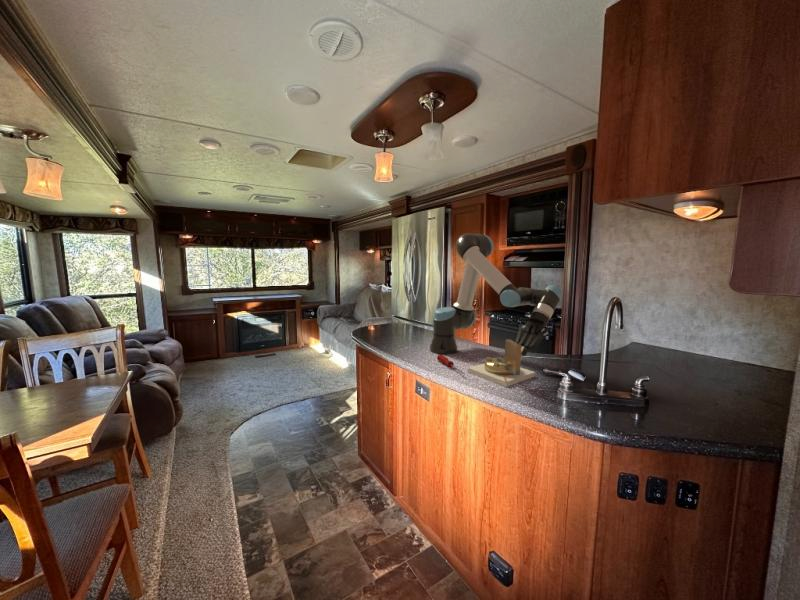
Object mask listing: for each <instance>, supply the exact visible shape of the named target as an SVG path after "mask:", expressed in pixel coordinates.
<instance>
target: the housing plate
mask: <svg viewBox="0 0 800 600" xmlns="http://www.w3.org/2000/svg"><path fill="white" fill-rule="evenodd" d="M467 373H469V374H472V375H473V376H477V377H480V378H482V379H483V380H486V381H489V380H490V382H493V383H495V384H498V385H500V386H503V387H505V388H506V387H509V386H512V385H515V384H518V383H520V382H524V381H526V380H530V379H532V378H535V377H536V371H533V370H529V369H528V368H527V369H526V368H523V367H521V366H520V375H514V374H513V375H499V374H494V373H491V372H488V371H487V370H485V362H484V363H481V364H477V365H473V366H470V367H468V368H467Z"/></svg>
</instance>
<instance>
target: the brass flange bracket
mask: <svg viewBox="0 0 800 600" xmlns="http://www.w3.org/2000/svg"><path fill="white" fill-rule="evenodd" d="M504 343H505V344H504V357H502V356H496V357H490V356H487V357H485V360H484V363H485V370H487V371H488V372H491V373H494V374H499V375H513V374H514V375H520V367H521V362H522V360H521V345H519V344H517V343H516V342H515V341H514V340H512V339H505V342H504Z"/></svg>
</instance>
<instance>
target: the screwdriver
mask: <svg viewBox="0 0 800 600" xmlns="http://www.w3.org/2000/svg"><path fill="white" fill-rule="evenodd" d="M436 359H437V360H438V362H440V363H441V364H443V365H446V366H447V368H449V369H451V368H454V369H455V370H457V371H458V372H460V373H461V374H463V375H465V372H463V371H462V370H460V369H458V368H457V367H456V366H454V365H455V364H454V362H453V361H452V360H449V358H448V357H446V356H445V355H444V354H439V353H438V355H437V356H436Z"/></svg>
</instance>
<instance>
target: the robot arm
mask: <svg viewBox="0 0 800 600" xmlns="http://www.w3.org/2000/svg"><path fill="white" fill-rule="evenodd" d="M455 250H456V252H457V254H458V255H459V257H460V258H461V259H462V260H463V261H464V262H465V266H464V270H463V273H462V278H461V282H460V286H459V291H458V296H457V298H456V299H457V300H456V302H454V303H453V305H452V307H450V306H445V307H438V308H435V309H434V312H433V316H432V317H433V318H432V319H433V321H432V322H433V323H432V325H433V329H432V330H433V331H432V332H433V333H432V339H431V343H430V345H429V351H430V352H431V353H435V354H438V355H439V354H442V355H449V354H450V355H451V354H454V353H457V352H458V345H457V342H456V337H455V332H456V331H457V330H464V329H467V328H470V327H472V326H473V325H474V324H475V321H476V312H475V308H474V306H473V302H474V299H475V295H476V290H477V285H478V283H479V278H480V276H481V277H482V278H483V279H484V280H485V282H486V283H487V284H488V285H490V287H491V288H492V289H493V290H494V291H495V292H496V293H497V294H498V295H499V300H500V303H501V304H502V306H504V307H506V308H515V307H519V306H527V305H529V306H530V305H531V306H534V309H533V311H532V312H531V314H530V316H529V318H528V320H527V322H526V323H525V324H524V325H522V324H519V325H518V331H517V335H516V338H515V341H514V342H516V343H517V344H519V345H521V361H523V360H522V359H523V358H524V357H526V356H527V354H528V352H529V351H530V350H531V351H534V350H535V349H536V348H537V347H538V346H539V345H540V343H541V342H542V341H543V339H545V338H546V337H547V336H548V335H550V334H549V332H548V330H547V329H546V327H547V325H548V324H549V322H550V319H551V318H552V316H553V314H554V312H555V310H556V309H557V307H558V305H559V304H560V302H561V298H562V297H563V294H564V293H563V290H562V289H561V288H560V287H559V286H556V285H553V284H552V285H551V284H550V285H547V286H546V287H545V288H544V289H538V288H529V287H526V286H525V287H523V286H522V287H520V286H519V287H515V285H514V284H513V283H512V282H511V281H510V280H509V279H508V278H507V277H506V276H505V275H504V274H503V273H502V272H501V271H500V270H499V269H498V268H497V267H496V266H495V265H494V264H493V263H492V262H491V261H490V260H489V259H488V257H489V256H490V255H492V253H493V251H494V242H493V240H492V238H491V237H490V236H489V235H486V234H483V233H470V232H469V233H468V232H467V233H463V234H461V235H460V236H459V237H458V238H457V240H456V243H455Z"/></svg>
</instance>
